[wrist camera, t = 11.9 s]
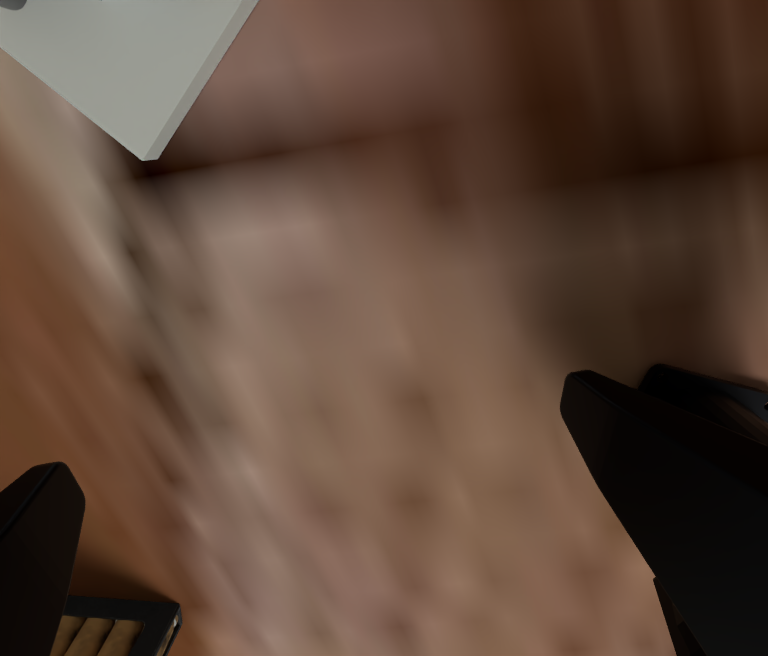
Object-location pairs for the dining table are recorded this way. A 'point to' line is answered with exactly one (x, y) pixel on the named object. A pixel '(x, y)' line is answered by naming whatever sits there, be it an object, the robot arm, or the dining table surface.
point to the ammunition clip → (116, 627)
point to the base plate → (124, 58)
